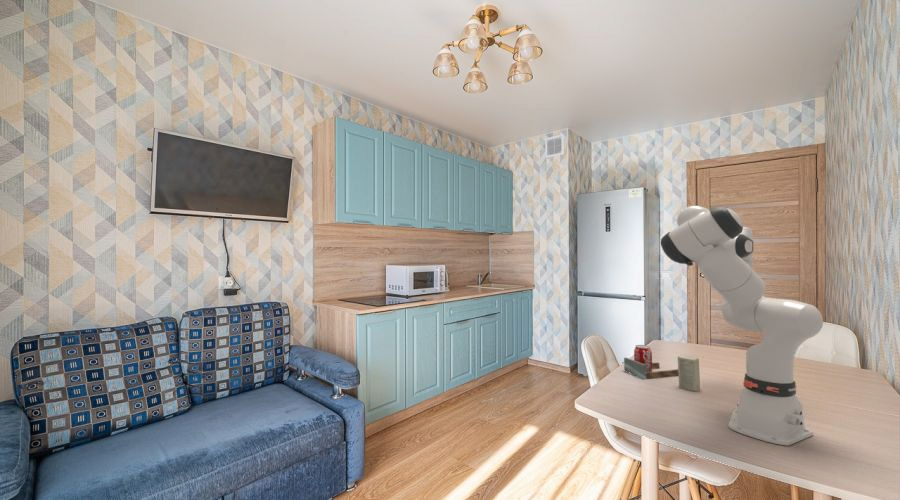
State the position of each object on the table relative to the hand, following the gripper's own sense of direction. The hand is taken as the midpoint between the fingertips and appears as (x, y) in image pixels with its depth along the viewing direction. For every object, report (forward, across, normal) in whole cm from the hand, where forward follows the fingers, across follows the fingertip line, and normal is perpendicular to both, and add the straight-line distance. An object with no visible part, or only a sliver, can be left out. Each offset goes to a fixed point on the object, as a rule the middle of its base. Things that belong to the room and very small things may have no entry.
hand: (738, 302), depth 144 cm
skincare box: (+35, +14, -12) cm, 39 cm away
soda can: (+35, +9, -31) cm, 48 cm away
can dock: (+35, +6, -29) cm, 46 cm away
